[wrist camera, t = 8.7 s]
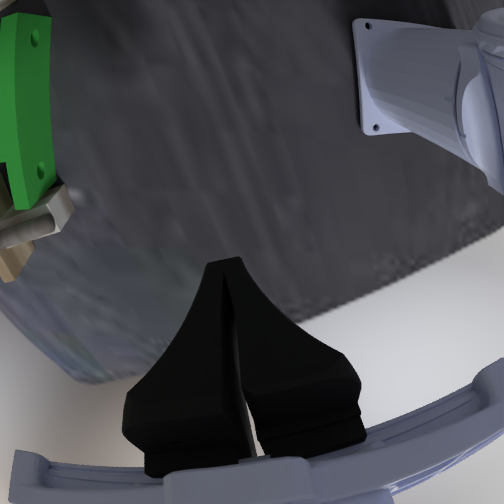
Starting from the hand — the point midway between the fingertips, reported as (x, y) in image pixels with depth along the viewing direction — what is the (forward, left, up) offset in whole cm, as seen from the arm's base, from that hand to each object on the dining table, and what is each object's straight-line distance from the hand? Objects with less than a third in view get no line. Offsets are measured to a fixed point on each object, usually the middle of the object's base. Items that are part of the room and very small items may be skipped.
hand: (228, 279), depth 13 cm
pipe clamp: (+11, -9, -10) cm, 17 cm away
